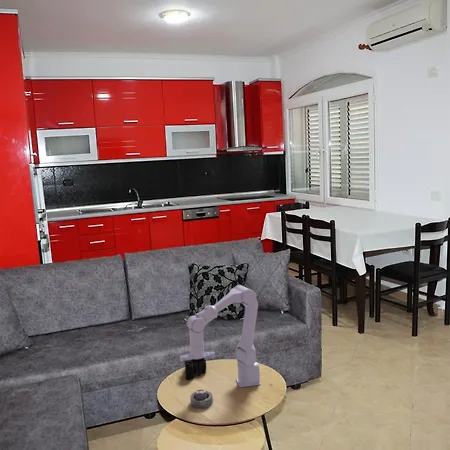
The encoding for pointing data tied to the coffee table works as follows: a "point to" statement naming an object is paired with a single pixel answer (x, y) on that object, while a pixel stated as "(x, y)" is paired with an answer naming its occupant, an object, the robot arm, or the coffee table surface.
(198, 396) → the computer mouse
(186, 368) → the film camera
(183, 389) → the coffee table surface
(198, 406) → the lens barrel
